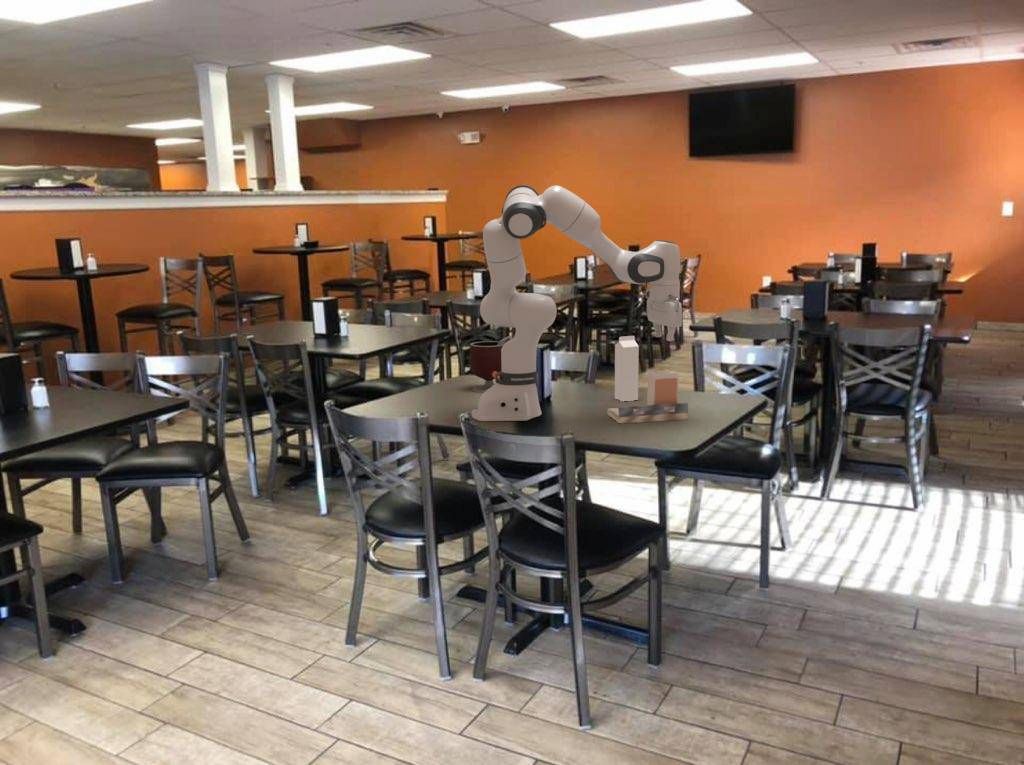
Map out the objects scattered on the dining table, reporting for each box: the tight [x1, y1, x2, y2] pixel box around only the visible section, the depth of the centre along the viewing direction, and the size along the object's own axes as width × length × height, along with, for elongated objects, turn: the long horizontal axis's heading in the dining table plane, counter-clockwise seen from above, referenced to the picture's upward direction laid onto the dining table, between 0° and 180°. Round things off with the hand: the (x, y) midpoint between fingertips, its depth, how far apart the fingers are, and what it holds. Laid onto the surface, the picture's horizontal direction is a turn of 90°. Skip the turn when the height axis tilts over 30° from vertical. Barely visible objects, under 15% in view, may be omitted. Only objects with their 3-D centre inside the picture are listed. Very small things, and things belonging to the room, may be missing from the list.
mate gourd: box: [469, 335, 513, 394], centre depth 308 cm, size 16×14×20 cm
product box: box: [646, 370, 679, 405], centre depth 262 cm, size 8×6×12 cm
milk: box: [614, 335, 640, 403], centre depth 287 cm, size 6×6×22 cm
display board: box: [607, 402, 689, 424], centre depth 263 cm, size 22×12×5 cm, turn 101°
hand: (663, 338), depth 260 cm, fingers open, 8 cm apart
